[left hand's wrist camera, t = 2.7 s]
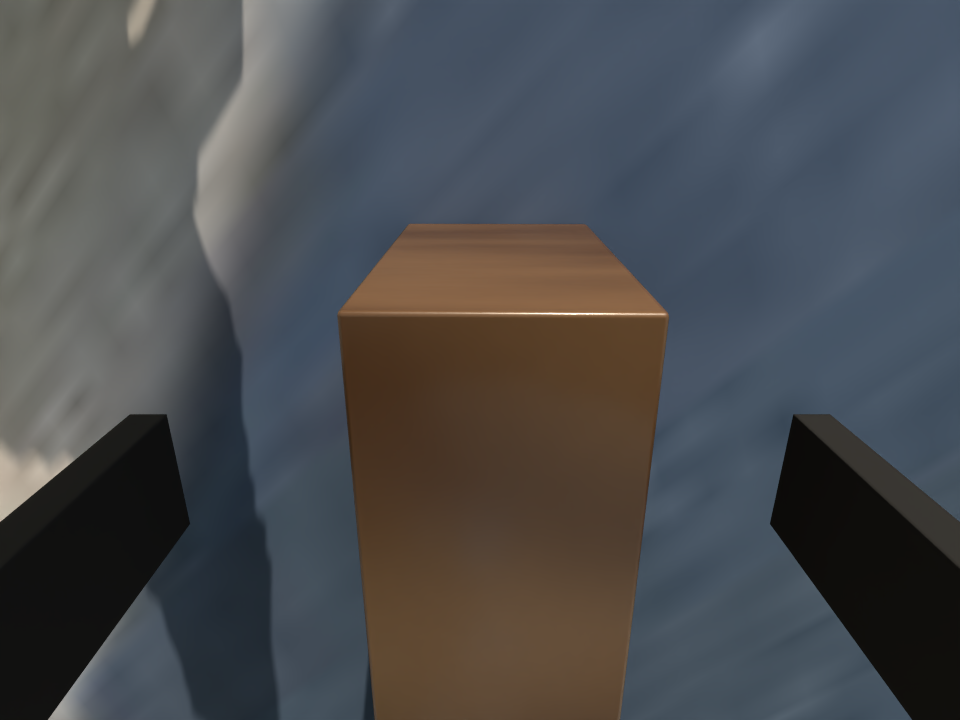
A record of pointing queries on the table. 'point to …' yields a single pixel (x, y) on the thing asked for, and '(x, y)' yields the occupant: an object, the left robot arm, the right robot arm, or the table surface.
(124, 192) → the table surface
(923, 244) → the table surface
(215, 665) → the table surface
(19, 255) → the table surface
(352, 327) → the bar
